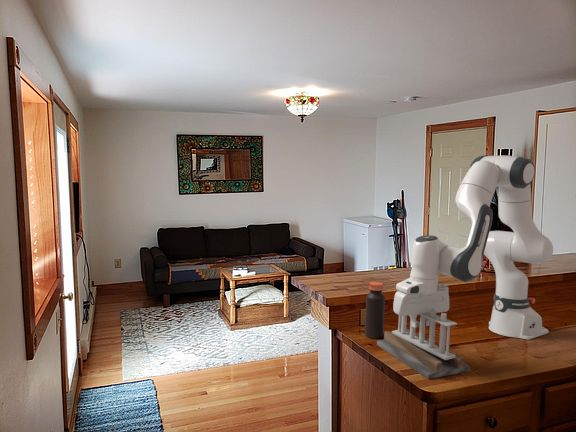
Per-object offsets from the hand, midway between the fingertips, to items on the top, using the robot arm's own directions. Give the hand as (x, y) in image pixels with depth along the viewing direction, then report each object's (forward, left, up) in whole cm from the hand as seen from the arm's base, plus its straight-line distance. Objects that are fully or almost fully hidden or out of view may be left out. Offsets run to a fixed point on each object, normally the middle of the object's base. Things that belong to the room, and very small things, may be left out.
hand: (420, 326), depth 152 cm
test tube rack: (-1, 0, -6) cm, 6 cm away
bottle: (+3, -22, -11) cm, 25 cm away
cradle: (-1, 0, -11) cm, 11 cm away
